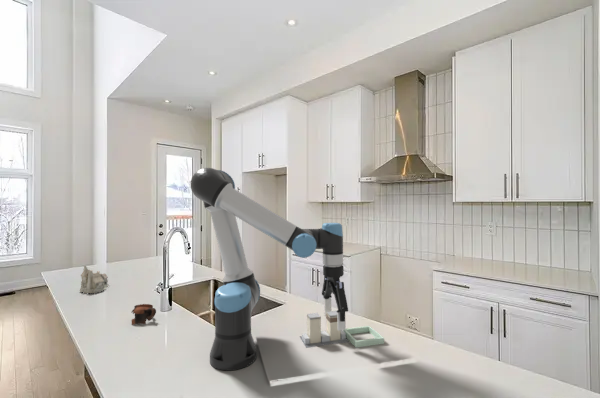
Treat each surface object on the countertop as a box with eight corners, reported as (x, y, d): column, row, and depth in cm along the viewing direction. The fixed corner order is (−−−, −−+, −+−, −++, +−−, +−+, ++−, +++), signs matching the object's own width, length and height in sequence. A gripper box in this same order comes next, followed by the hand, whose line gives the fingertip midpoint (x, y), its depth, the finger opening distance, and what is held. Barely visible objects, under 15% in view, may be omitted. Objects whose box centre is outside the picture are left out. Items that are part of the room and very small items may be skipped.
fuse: (310, 343, 110) (310, 317, 110) (307, 338, 113) (306, 313, 113) (320, 342, 111) (320, 316, 111) (317, 337, 114) (317, 312, 114)
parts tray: (355, 350, 107) (355, 341, 107) (343, 337, 117) (343, 328, 117) (384, 346, 109) (384, 337, 109) (369, 333, 120) (369, 325, 120)
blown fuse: (330, 340, 111) (330, 315, 111) (326, 336, 115) (326, 311, 115) (340, 339, 112) (340, 314, 112) (336, 334, 117) (336, 310, 117)
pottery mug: (124, 326, 130) (127, 305, 134) (141, 328, 137) (143, 308, 142) (147, 321, 127) (150, 300, 131) (163, 323, 135) (165, 304, 139)
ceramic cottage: (87, 294, 170) (89, 267, 171) (74, 291, 179) (75, 265, 180) (117, 289, 183) (118, 264, 184) (103, 286, 192) (104, 262, 193)
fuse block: (306, 351, 107) (306, 341, 107) (299, 339, 115) (299, 331, 115) (349, 345, 111) (349, 336, 111) (339, 334, 119) (339, 326, 119)
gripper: (357, 271, 103) (358, 335, 103) (330, 258, 127) (331, 309, 127) (336, 273, 101) (337, 338, 101) (313, 259, 125) (314, 311, 125)
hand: (334, 322), depth 114 cm, fingers open, 13 cm apart
